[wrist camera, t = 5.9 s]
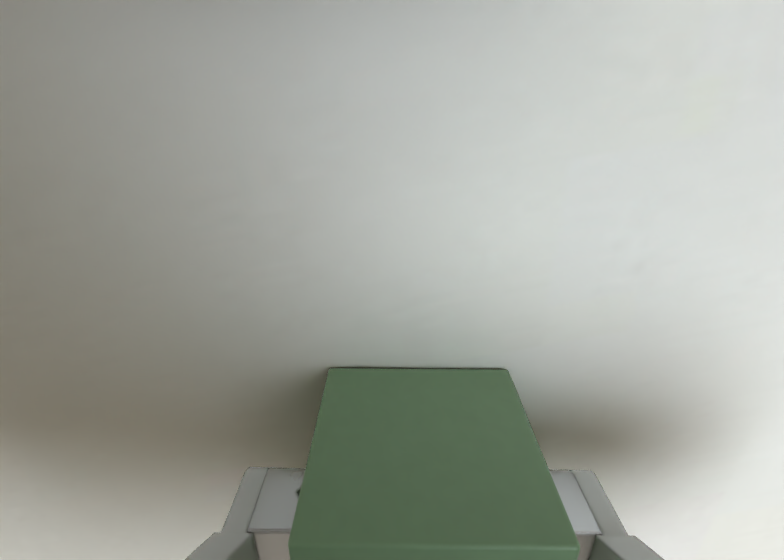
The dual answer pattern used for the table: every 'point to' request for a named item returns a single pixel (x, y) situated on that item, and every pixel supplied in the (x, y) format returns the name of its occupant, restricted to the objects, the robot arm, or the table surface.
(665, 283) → the table surface
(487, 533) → the block
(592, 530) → the robot arm
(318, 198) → the table surface
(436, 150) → the table surface
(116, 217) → the table surface
